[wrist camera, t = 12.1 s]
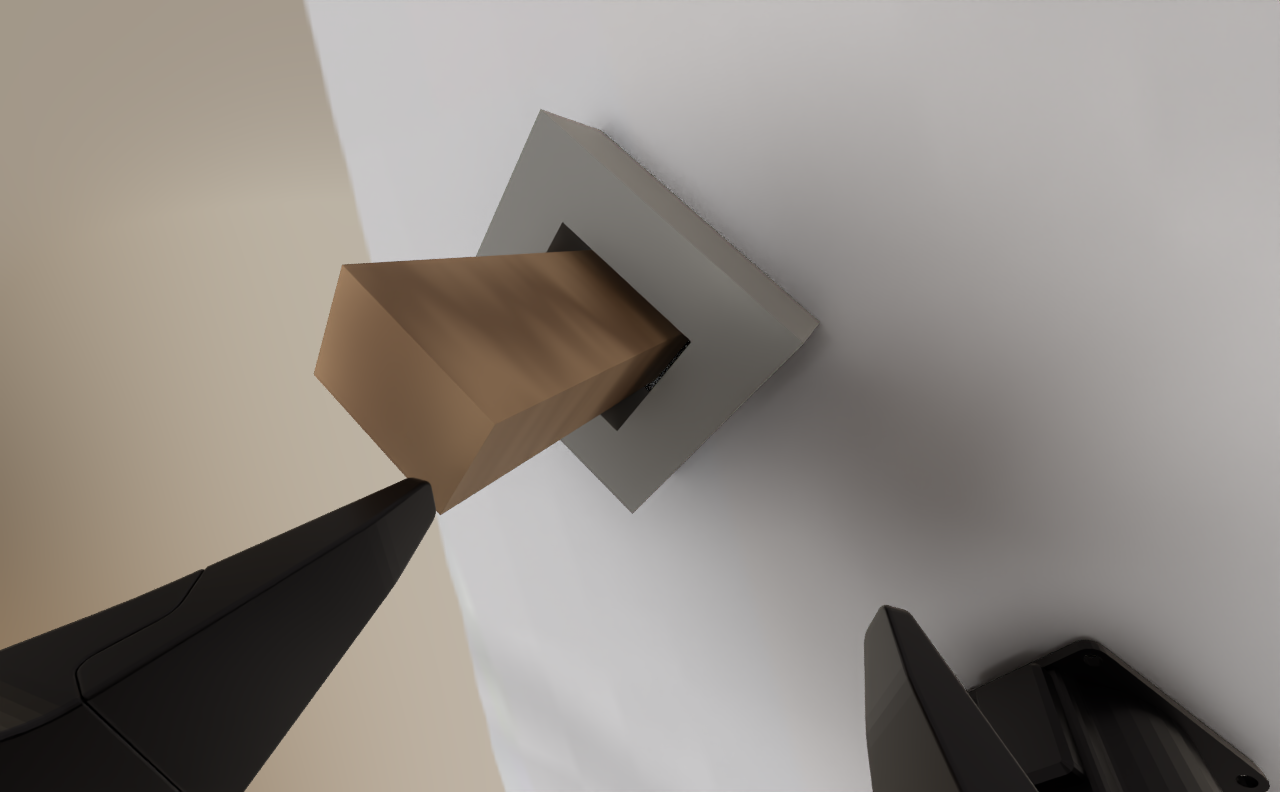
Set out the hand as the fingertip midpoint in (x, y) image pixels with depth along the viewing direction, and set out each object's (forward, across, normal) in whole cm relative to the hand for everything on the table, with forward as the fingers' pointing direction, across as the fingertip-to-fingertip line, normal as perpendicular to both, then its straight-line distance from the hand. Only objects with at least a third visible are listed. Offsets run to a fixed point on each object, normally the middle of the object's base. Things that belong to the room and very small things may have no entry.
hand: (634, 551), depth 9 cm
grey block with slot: (+13, +4, +1) cm, 14 cm away
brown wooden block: (+14, +4, +1) cm, 14 cm away
